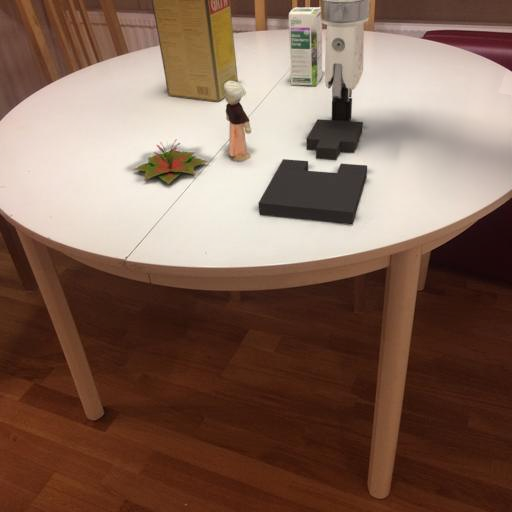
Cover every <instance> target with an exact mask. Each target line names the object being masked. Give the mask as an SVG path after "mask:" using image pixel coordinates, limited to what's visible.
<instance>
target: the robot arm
mask: <svg viewBox="0 0 512 512" xmlns="http://www.w3.org/2000/svg"><path fill="white" fill-rule="evenodd" d="M370 4H371V0H320V7H321V22H322V25H326V33H325V35H326V36H325V56H324V57H325V58H324V60H325V61H324V77H325V78H324V83H325V87H326V88H327V89H330V88H331V99H332V100H331V120H340V121H352V114H353V113H352V112H353V110H352V109H353V97H352V95H353V90H354V89H356V88H357V86H358V84H359V82H360V80H361V78H362V75H363V72H364V54H365V53H364V49H365V48H364V47H365V46H364V45H365V43H364V42H365V23H367V22H368V21H369V20H370V10H371V9H370V6H371V5H370Z"/></svg>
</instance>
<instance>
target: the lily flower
mask: <svg viewBox="0 0 512 512" xmlns="http://www.w3.org/2000/svg"><path fill="white" fill-rule="evenodd" d="M177 141H178V139H177V138H176V139H175V140H174V142H173V143H172V145H171V147H170V149H169V150H168V151H167V150H166V148H165V147H164V145H163V143H162V142H161V141H159V144H160V145H161V146H162V147H161V146H160V145H158V144H155V145H156V147H157V148H158V149H159V150H160V151H161V153H158V152H156V151H154V152H153V154H154V155H152V156H148V157H147V160H148V162H145V163H142V164H140V165H138V166H137V167H136V168H135V167H134V168H132V169H131V170H133V171H140V172H144V178H143V181H142V182H145V181H147V180H148V179H151V178H153V177H156V176H158V178H159V179H161V180H162V181H163V182H166V184H167V185H170V183H171V182H173V181H174V180H175V179H176V178H178V177H179V176H180V175H181V173H185V174H191V175H195V176H197V174H196V171H195V167H197V166H199V165H203V164H205V163H209V162H210V161H208V160H205V159H202V158H199V157H193V156H194V155H195V154H196V153H197V152H196V151H181V150H177V149H178V147H177V146H180V145H181V142H178V143H177V144H176V145H175V146H174V144H175V143H176V142H177ZM166 143H167V145H168V142H166ZM192 157H193V158H192Z"/></svg>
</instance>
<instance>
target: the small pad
mask: <svg viewBox="0 0 512 512" xmlns="http://www.w3.org/2000/svg"><path fill="white" fill-rule="evenodd" d="M363 128H364V122H363V121H357V120H350V121H340V120H332V119H323V118H318V119H316V121H315V122H314V124H313V127H312V128H311V129H310V131H309V133H308V135H307V137H306V140H305V141H306V145H305V146H306V150H308V151H315V158H316V159H321V160H334V161H337V160H338V158H339V156H340V154H341V153H345V154H346V153H347V154H355V152H356V149H357V147H358V144H359V142H360V139H361V137H362V134H363Z"/></svg>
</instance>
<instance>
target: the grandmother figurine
mask: <svg viewBox="0 0 512 512" xmlns="http://www.w3.org/2000/svg"><path fill="white" fill-rule="evenodd" d="M224 89H225V91H226V93H225V98H224V99H225V101H226V103H227V104H226V105H225V114H226V115H225V116H226V117H225V120H226V121H227V122H229V132H228V133H229V135H228V136H229V137H228V138H229V139H228V150H227V155H228V156H230V157H233V159H234V160H235V161H236V162H244V161H246V160H247V159H249V158H251V154H250V153H249V152H248V148H247V141H246V134H251V133H252V128H251V123H250V118H249V117H248V115H247V113H246V112H245V110H244V107H243V105H242V104H241V100H242V99H243V97H244V96H246V94H247V91H246V90H245V88H244V87H243V85H242V84H241V83H240V82H239V81H238V82H235V81H228V82H226V83H225V84H224Z"/></svg>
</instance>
